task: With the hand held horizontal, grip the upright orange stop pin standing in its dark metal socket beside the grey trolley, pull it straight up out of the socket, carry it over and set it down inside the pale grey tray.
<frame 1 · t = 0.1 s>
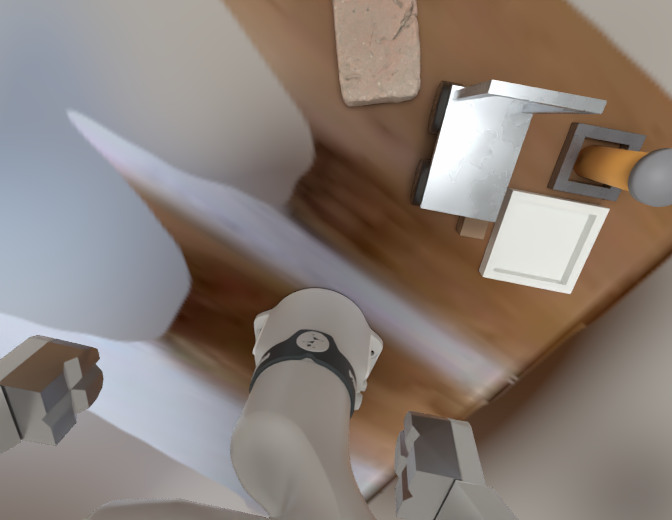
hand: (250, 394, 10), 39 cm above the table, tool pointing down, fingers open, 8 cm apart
brick: (375, 21, 40), on the table
stop pin: (622, 168, 37), in the socket
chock: (469, 222, 47), on the table
trolley: (461, 151, 44), on the table
tray: (536, 239, 47), on the table
socket: (590, 161, 43), on the table
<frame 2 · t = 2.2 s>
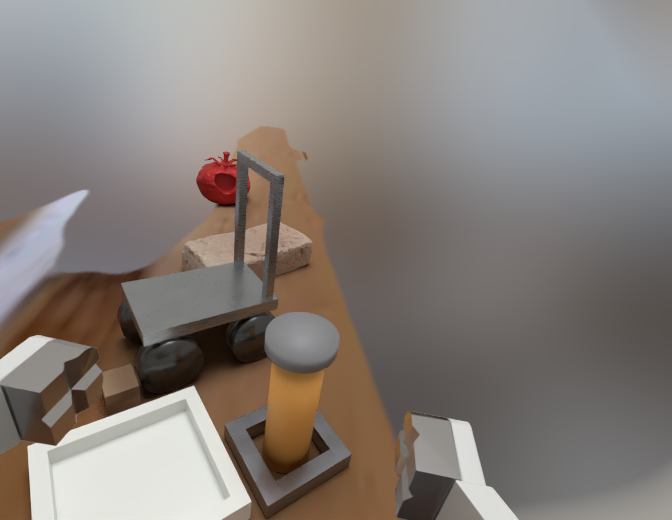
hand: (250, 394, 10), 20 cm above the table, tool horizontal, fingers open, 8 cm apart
brick: (249, 270, 54), on the table
red hollow tomato: (223, 200, 75), on the table
stop pin: (293, 398, 27), in the socket
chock: (122, 400, 32), on the table
trolley: (202, 345, 39), on the table
tray: (140, 491, 26), on the table
socket: (285, 451, 30), on the table
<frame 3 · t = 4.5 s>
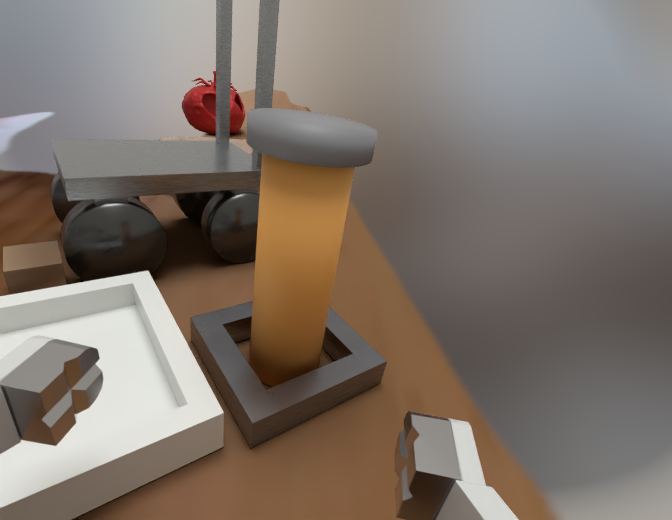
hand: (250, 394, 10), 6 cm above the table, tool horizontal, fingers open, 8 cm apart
brick: (239, 185, 44), on the table
red hollow tomato: (214, 132, 64), on the table
stop pin: (296, 261, 17), in the socket
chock: (41, 291, 21), on the table
trolley: (171, 244, 28), on the table
tray: (41, 402, 15), on the table
socket: (284, 361, 20), on the table
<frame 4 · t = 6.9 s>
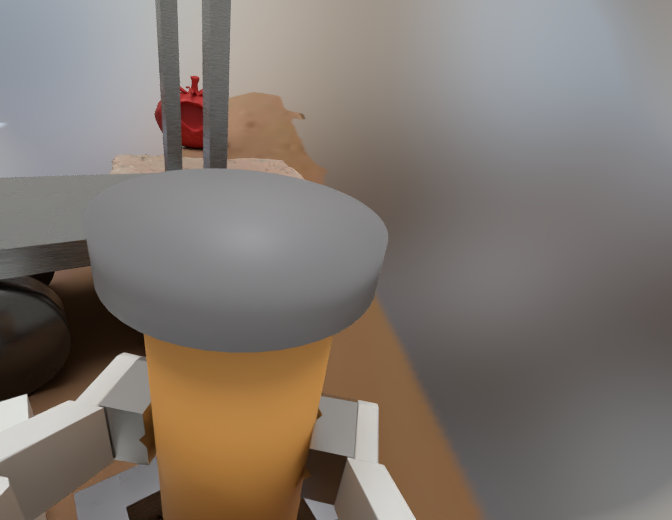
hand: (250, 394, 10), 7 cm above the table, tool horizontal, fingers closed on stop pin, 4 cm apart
brick: (211, 215, 36), on the table
red hollow tomato: (193, 144, 57), on the table
stop pin: (237, 437, 9), in the socket, touching gripper
trolley: (99, 316, 21), on the table
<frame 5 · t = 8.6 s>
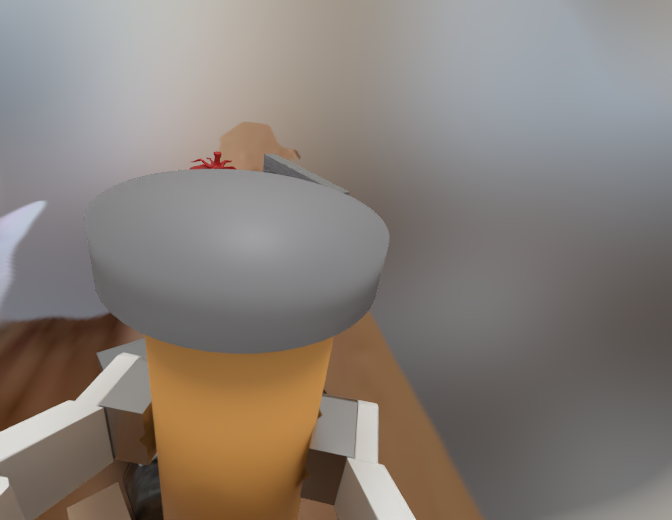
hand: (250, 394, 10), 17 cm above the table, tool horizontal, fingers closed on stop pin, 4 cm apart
red hollow tomato: (214, 209, 63), on the table
stop pin: (238, 438, 9), point 16 cm above the table, touching gripper
trolley: (215, 424, 28), on the table
when the fingers open (8 cm above the table, at t = 10.7 s): stop pin drops 1 cm, resting on tray.
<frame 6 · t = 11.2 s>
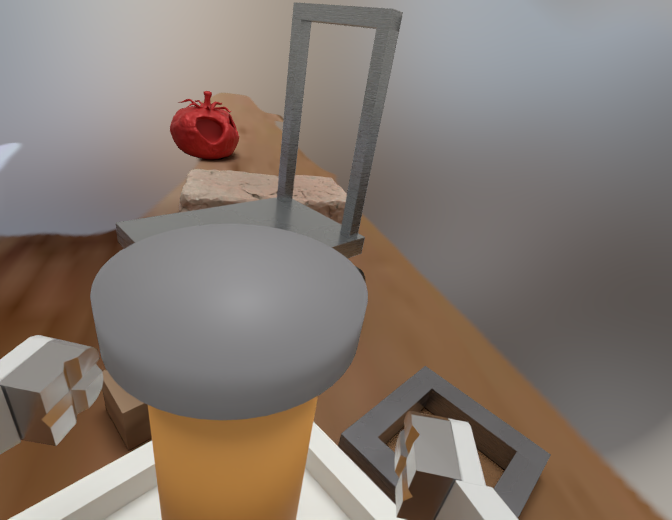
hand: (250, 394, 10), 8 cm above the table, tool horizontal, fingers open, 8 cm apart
brick: (264, 224, 41), on the table
red hollow tomato: (206, 155, 60), on the table
stop pin: (234, 471, 10), in the tray, point 7 cm above the table
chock: (143, 415, 18), on the table
trolley: (245, 319, 26), on the table
socket: (439, 464, 18), on the table
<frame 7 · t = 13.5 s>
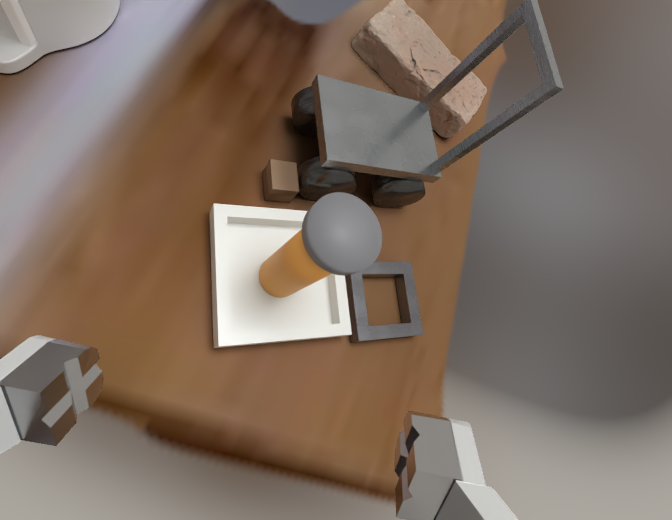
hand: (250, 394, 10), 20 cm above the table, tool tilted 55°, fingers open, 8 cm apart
brick: (408, 83, 48), on the table
stop pin: (306, 258, 27), in the tray, point 7 cm above the table
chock: (276, 187, 35), on the table
trolley: (347, 164, 39), on the table
tray: (277, 277, 32), on the table
socket: (378, 301, 36), on the table
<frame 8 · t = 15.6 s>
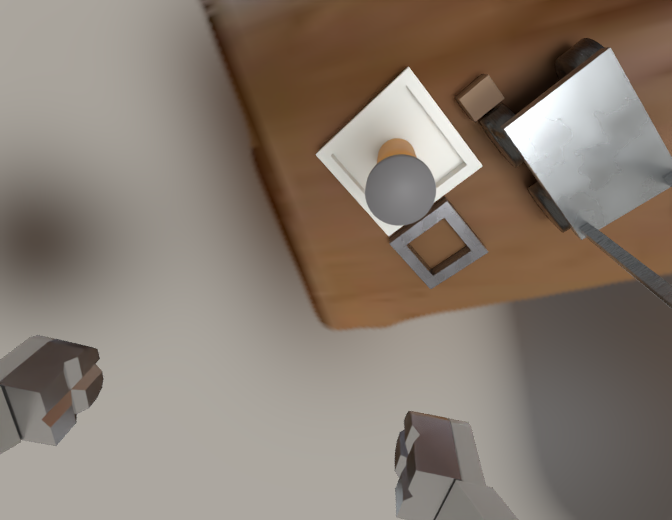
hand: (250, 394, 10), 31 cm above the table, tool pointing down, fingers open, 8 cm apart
stop pin: (397, 172, 31), in the tray, point 7 cm above the table
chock: (475, 96, 34), on the table
trolley: (558, 139, 35), on the table
tray: (397, 155, 37), on the table
socket: (436, 242, 41), on the table
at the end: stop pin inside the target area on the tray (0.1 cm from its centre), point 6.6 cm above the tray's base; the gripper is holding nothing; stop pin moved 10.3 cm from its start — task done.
